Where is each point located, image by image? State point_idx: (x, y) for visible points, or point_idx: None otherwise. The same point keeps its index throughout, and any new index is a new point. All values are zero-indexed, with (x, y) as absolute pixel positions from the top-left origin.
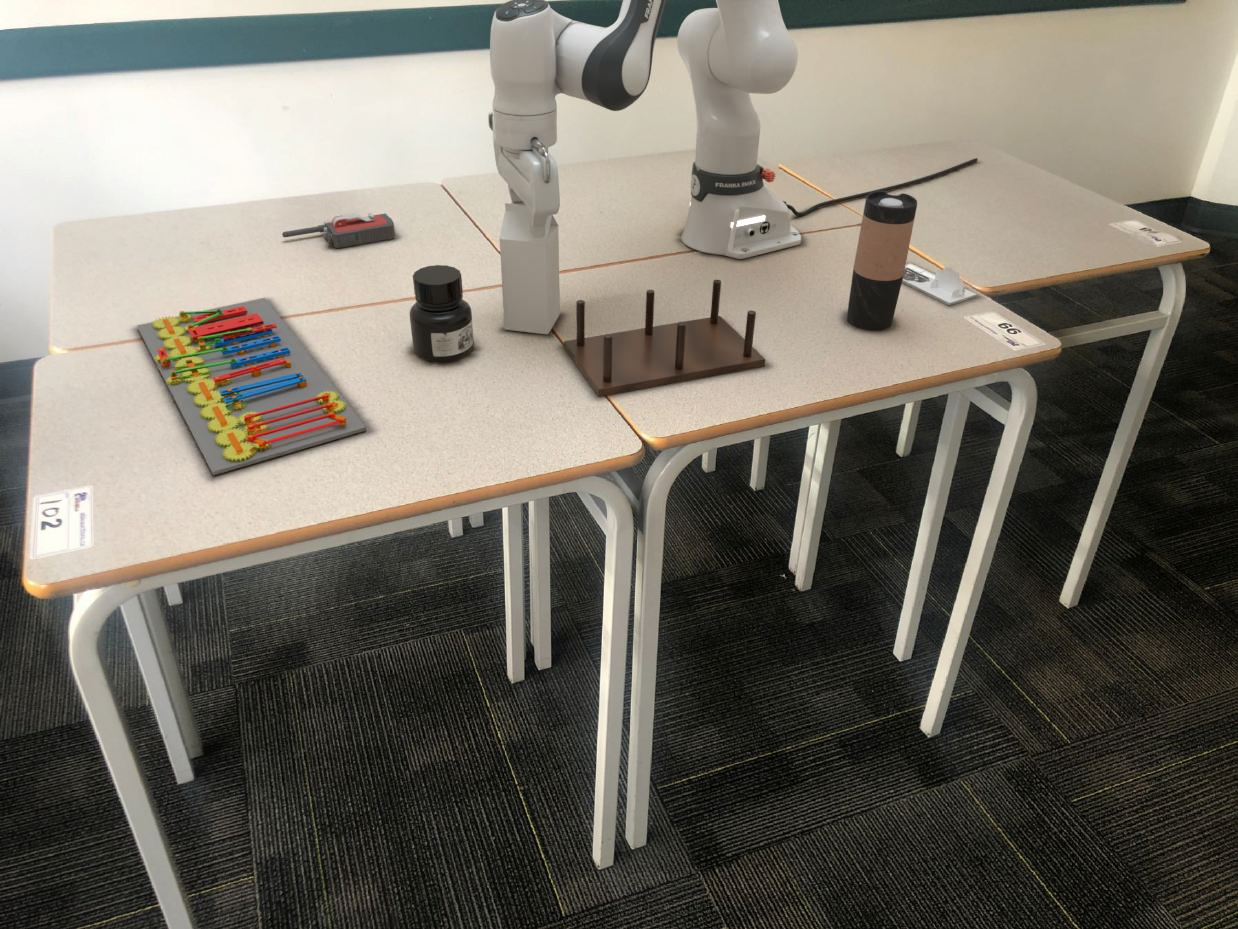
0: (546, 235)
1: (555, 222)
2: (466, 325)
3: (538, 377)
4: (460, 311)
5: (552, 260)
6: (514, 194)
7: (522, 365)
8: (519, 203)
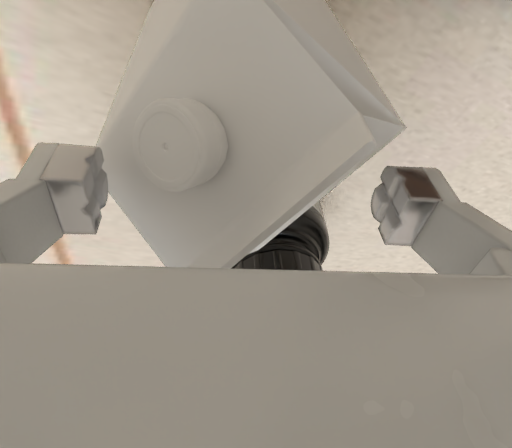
0: (393, 131)
1: (260, 9)
2: (319, 213)
3: (457, 91)
4: (316, 239)
5: (315, 15)
6: (22, 249)
7: (397, 101)
8: (84, 209)
